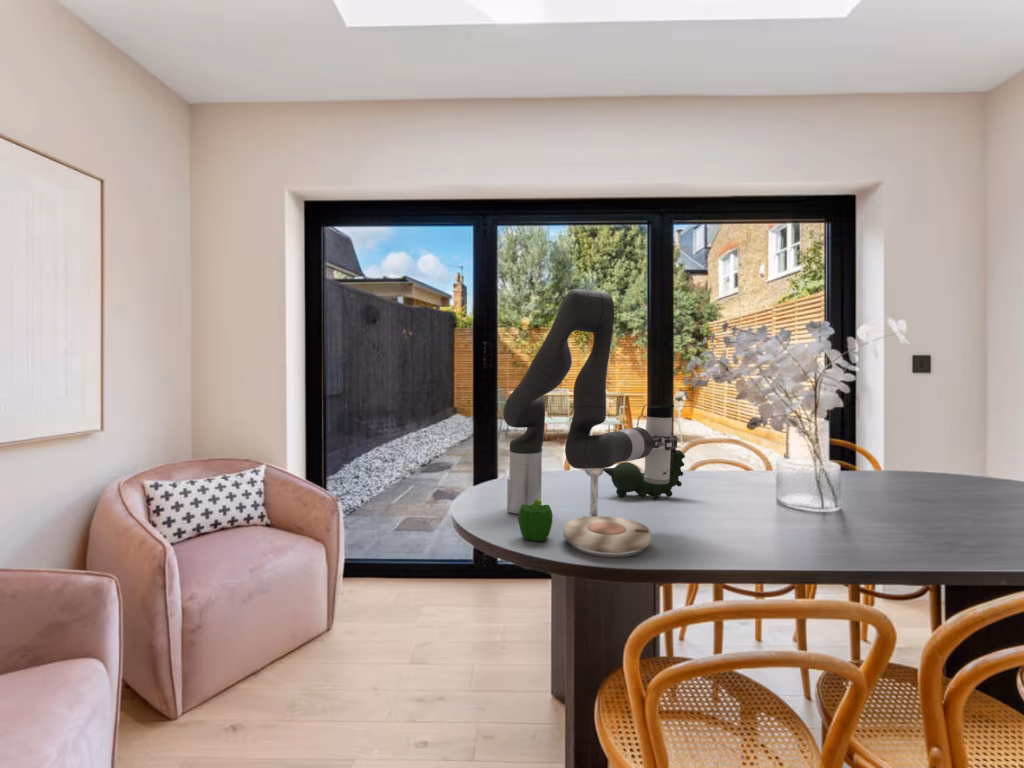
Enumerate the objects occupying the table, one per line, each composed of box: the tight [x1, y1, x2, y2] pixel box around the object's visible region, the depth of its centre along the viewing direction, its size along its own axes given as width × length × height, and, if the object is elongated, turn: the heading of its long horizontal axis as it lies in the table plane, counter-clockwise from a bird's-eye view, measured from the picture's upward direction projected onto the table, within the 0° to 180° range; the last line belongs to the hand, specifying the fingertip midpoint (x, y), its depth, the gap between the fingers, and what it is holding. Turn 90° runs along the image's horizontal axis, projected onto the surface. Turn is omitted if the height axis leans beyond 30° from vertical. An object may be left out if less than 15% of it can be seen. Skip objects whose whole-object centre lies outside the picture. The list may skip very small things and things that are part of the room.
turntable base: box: [569, 542, 644, 559], centre depth 127 cm, size 17×17×1 cm
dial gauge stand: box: [582, 468, 605, 517], centre depth 141 cm, size 6×8×18 cm
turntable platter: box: [563, 516, 652, 552], centre depth 126 cm, size 20×20×2 cm
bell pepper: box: [517, 499, 554, 542], centre depth 130 cm, size 8×8×10 cm
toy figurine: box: [603, 448, 686, 501], centre depth 171 cm, size 9×19×25 cm
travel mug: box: [643, 403, 675, 484], centre depth 138 cm, size 6×7×20 cm
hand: (662, 438), depth 139 cm, fingers closed on travel mug, 6 cm apart
